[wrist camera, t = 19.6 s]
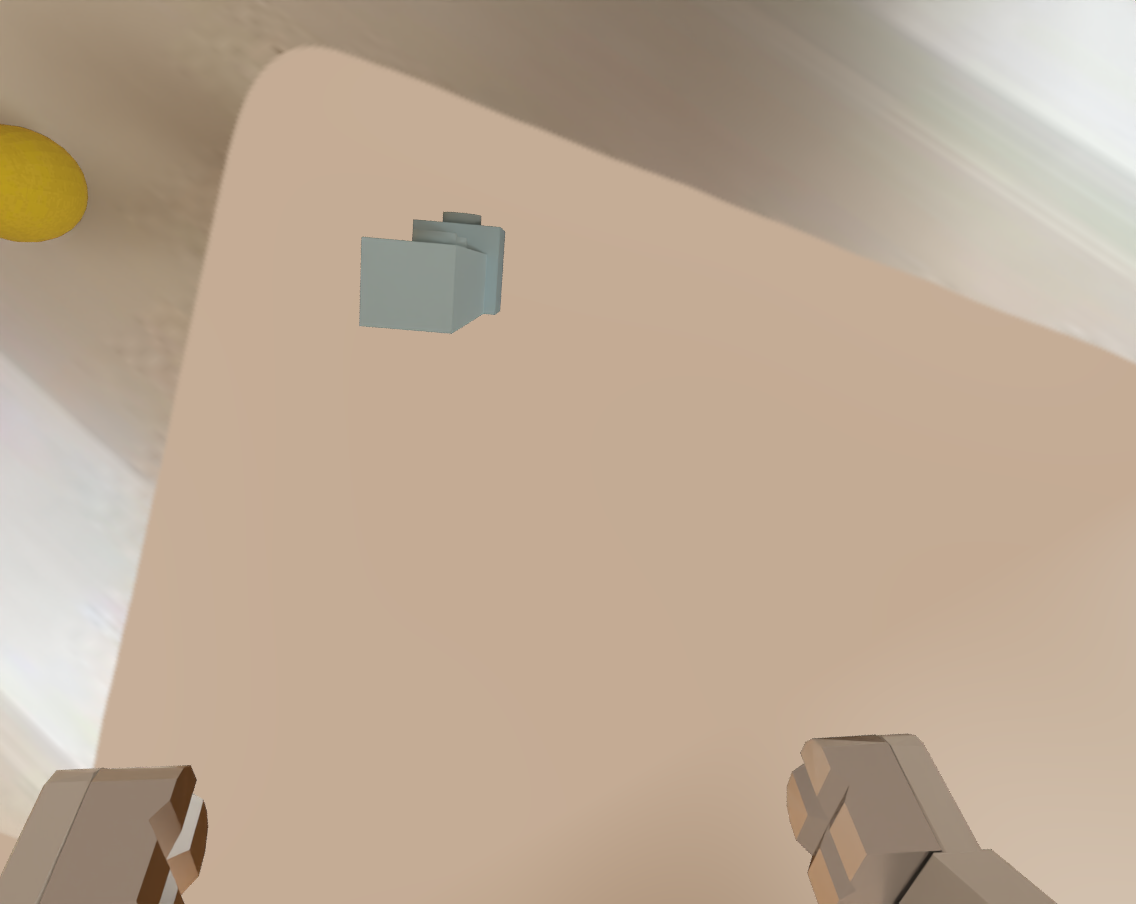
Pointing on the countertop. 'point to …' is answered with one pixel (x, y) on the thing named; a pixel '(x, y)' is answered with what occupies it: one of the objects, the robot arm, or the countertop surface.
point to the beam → (432, 275)
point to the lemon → (37, 187)
